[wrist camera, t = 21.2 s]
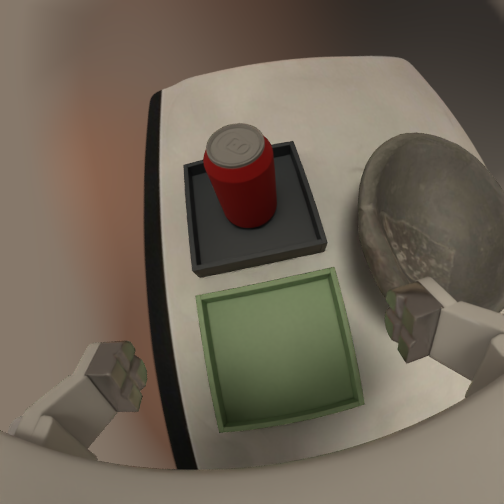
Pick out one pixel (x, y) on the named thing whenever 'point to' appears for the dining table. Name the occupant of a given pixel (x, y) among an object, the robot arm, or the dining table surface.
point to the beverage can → (242, 174)
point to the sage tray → (279, 352)
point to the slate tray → (258, 238)
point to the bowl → (433, 219)
